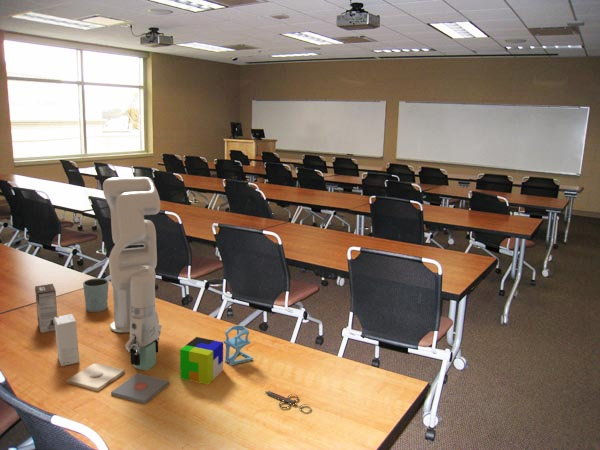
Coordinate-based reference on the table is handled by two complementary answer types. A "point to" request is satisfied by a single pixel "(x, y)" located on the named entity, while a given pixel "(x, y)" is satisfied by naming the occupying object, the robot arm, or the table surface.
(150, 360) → the teal block
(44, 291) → the coffee box
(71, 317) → the skincare box
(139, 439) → the table surface
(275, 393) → the syringe
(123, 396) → the slate mat
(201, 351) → the puzzle toy
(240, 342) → the chair
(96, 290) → the teal cup
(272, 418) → the table surface
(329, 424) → the table surface
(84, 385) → the birch pad
